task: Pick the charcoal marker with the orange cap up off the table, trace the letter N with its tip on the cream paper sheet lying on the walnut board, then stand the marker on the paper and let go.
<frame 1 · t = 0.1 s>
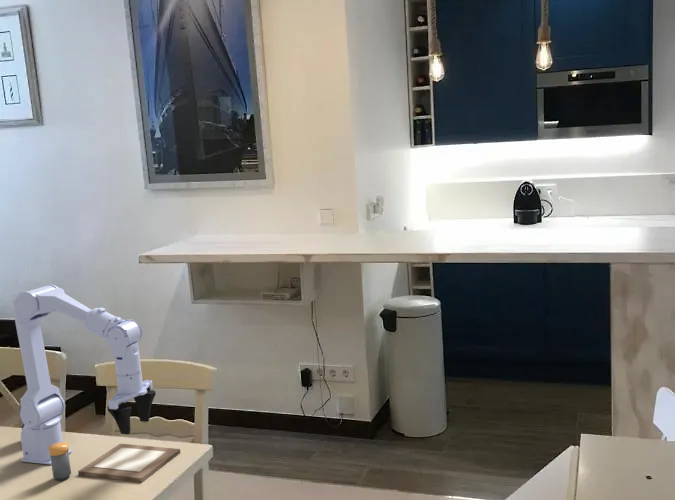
hand: (135, 427, 172), 10 cm above the table, tool pointing down, fingers open, 7 cm apart
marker: (62, 477, 170), on the table
beverage can: (38, 440, 195), on the table
board: (130, 463, 175), on the table
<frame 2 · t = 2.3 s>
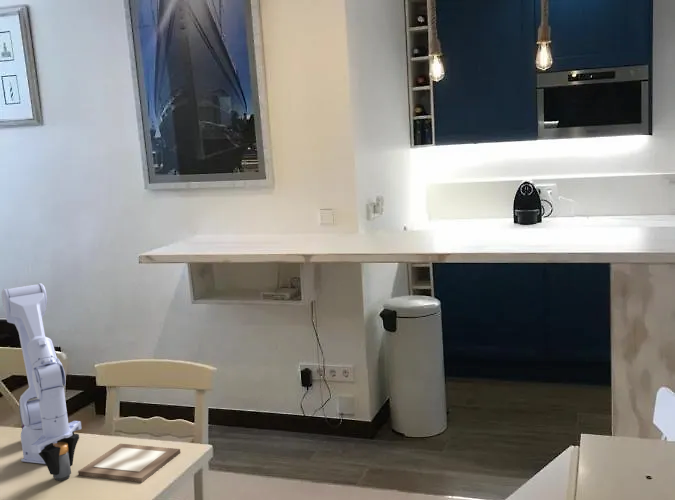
hand: (61, 469, 170), 2 cm above the table, tool pointing down, fingers closed on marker, 4 cm apart
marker: (62, 477, 170), on the table, touching gripper
everything else where it was.
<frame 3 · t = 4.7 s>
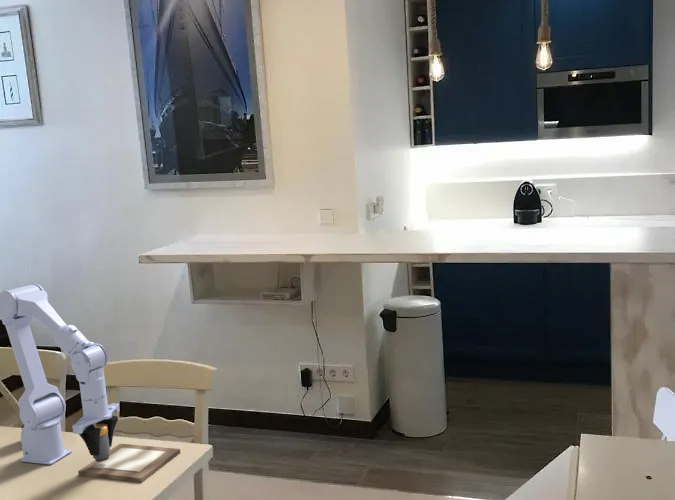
hand: (101, 450, 173), 5 cm above the table, tool pointing down, fingers closed on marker, 4 cm apart
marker: (102, 458, 173), point 3 cm above the table, touching gripper
everything else where it was.
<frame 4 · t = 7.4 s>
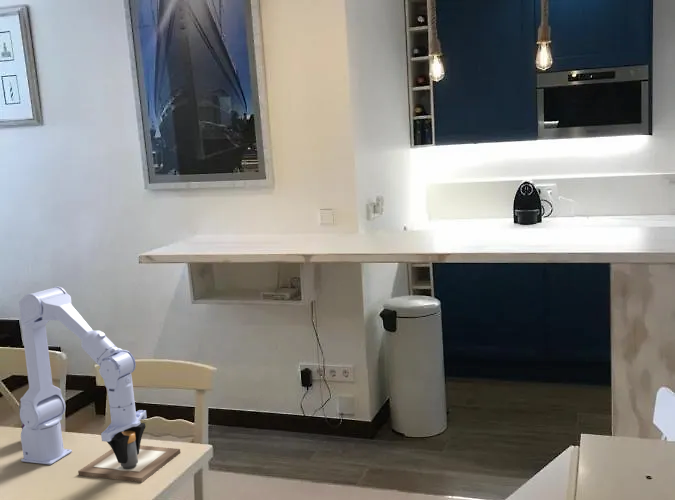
hand: (128, 458, 171), 3 cm above the table, tool pointing down, fingers closed on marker, 4 cm apart
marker: (129, 466, 171), point 1 cm above the table, touching gripper
everything else where it was.
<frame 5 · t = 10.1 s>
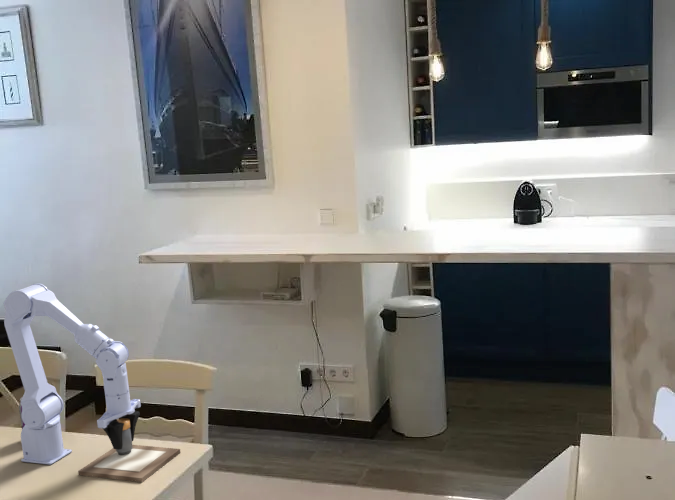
hand: (123, 444, 179), 3 cm above the table, tool pointing down, fingers closed on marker, 4 cm apart
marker: (124, 452, 179), point 1 cm above the table, touching gripper
everything else where it was.
when the fingers open (4 cm above the table, at t = 12.4 s): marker drops 1 cm, resting on board.
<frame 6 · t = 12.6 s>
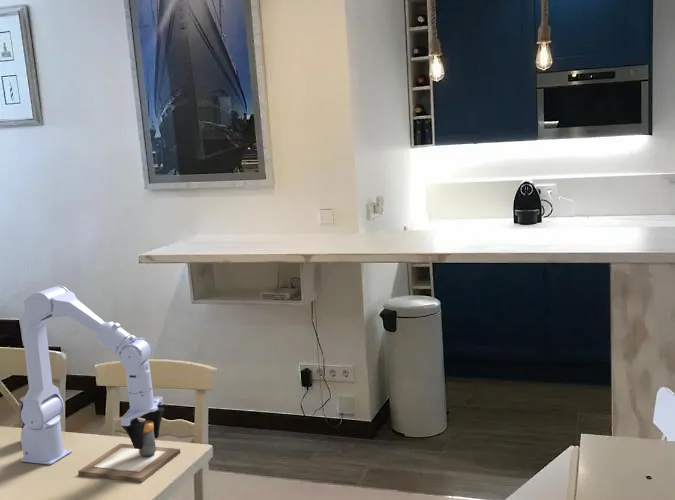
hand: (146, 442, 176), 4 cm above the table, tool pointing down, fingers open, 6 cm apart
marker: (147, 454, 177), point 1 cm above the table, touching board
everything else where it was.
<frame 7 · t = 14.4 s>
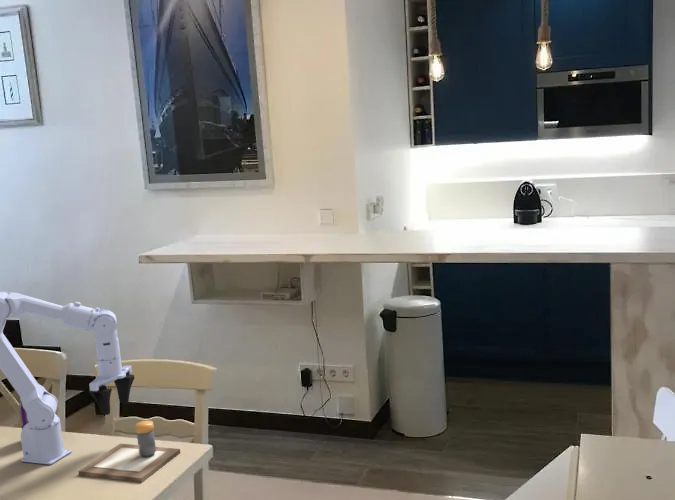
hand: (115, 408, 186), 10 cm above the table, tool pointing down, fingers open, 7 cm apart
nothing on the table moved.
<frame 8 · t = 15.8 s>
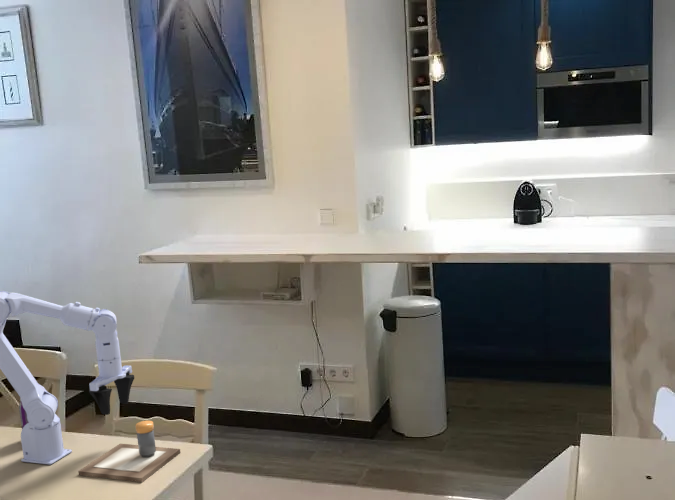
hand: (115, 408, 186), 10 cm above the table, tool pointing down, fingers open, 7 cm apart
nothing on the table moved.
at the end: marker inside the target area on the board (1.1 cm from its centre), point 1.2 cm above the board's base; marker tilted 0°; the gripper is holding nothing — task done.
